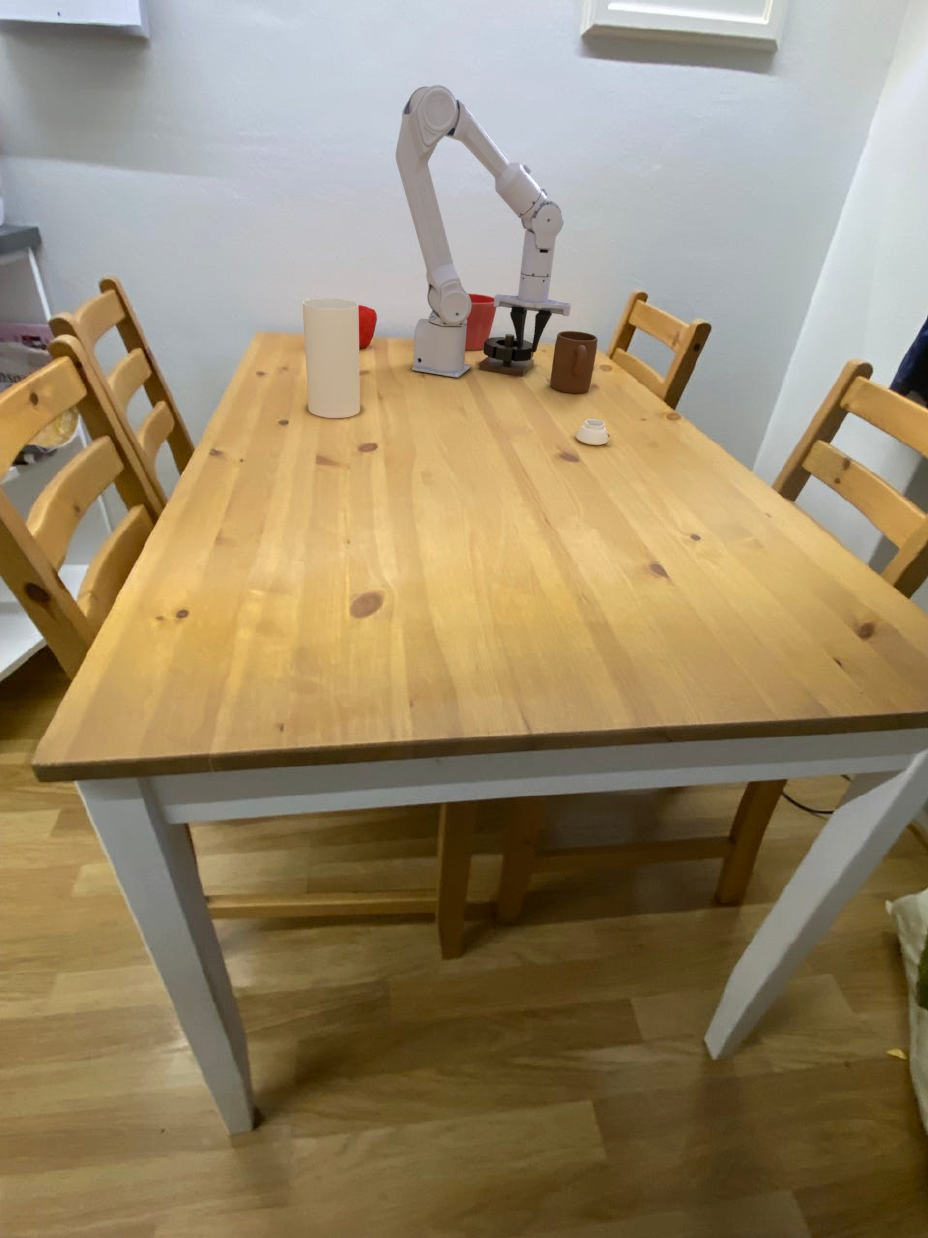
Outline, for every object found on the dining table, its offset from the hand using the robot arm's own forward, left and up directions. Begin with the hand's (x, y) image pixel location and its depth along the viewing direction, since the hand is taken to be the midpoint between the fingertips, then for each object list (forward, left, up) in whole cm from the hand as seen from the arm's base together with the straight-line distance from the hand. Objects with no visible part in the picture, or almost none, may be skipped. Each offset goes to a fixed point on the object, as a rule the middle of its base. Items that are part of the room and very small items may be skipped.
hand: (526, 349), depth 137 cm
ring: (-4, 0, -1) cm, 4 cm away
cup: (-22, -40, -4) cm, 46 cm away
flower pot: (-16, +12, -4) cm, 20 cm away
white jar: (+19, -33, -4) cm, 39 cm away
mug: (+11, -9, -4) cm, 15 cm away
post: (-4, 0, -4) cm, 5 cm away
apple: (-36, -3, -4) cm, 36 cm away
